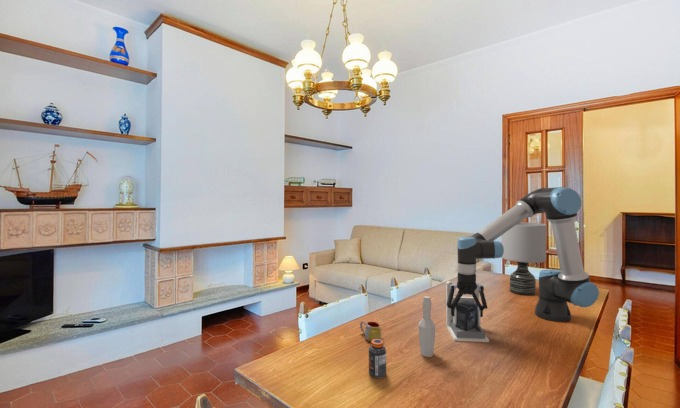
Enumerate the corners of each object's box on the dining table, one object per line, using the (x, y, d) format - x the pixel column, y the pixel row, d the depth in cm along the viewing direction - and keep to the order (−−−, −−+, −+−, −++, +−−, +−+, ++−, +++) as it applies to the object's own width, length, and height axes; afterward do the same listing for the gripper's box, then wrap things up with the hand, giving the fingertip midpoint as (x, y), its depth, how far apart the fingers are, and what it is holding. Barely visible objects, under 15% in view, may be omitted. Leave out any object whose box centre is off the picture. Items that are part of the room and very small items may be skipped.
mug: (385, 340, 137) (385, 324, 137) (372, 344, 133) (372, 328, 133) (367, 330, 147) (367, 316, 147) (355, 334, 143) (355, 319, 143)
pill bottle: (367, 369, 114) (367, 337, 114) (384, 368, 115) (384, 336, 114) (370, 379, 108) (370, 345, 108) (388, 378, 109) (387, 344, 108)
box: (466, 331, 138) (466, 306, 137) (455, 327, 142) (455, 303, 142) (477, 327, 142) (478, 303, 142) (466, 323, 147) (466, 299, 147)
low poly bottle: (432, 359, 120) (432, 300, 120) (416, 355, 124) (415, 298, 123) (437, 352, 126) (437, 296, 125) (421, 348, 129) (421, 293, 128)
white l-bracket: (478, 326, 150) (478, 280, 149) (489, 342, 134) (490, 290, 134) (445, 325, 151) (445, 280, 151) (453, 340, 136) (453, 290, 135)
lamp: (554, 298, 189) (555, 225, 188) (513, 298, 190) (513, 225, 188) (531, 286, 213) (531, 222, 212) (494, 286, 214) (494, 222, 212)
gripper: (490, 271, 144) (489, 321, 145) (439, 270, 147) (439, 319, 147) (496, 275, 137) (496, 328, 137) (442, 274, 139) (442, 326, 140)
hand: (466, 323), depth 142 cm, fingers closed on box, 9 cm apart
